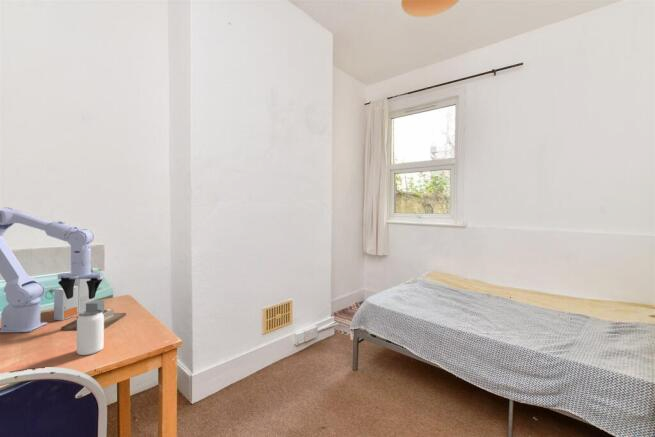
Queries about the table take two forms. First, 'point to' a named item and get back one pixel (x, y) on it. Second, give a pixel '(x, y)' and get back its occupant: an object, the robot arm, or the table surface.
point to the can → (90, 332)
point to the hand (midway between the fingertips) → (80, 298)
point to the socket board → (108, 319)
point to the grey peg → (95, 305)
